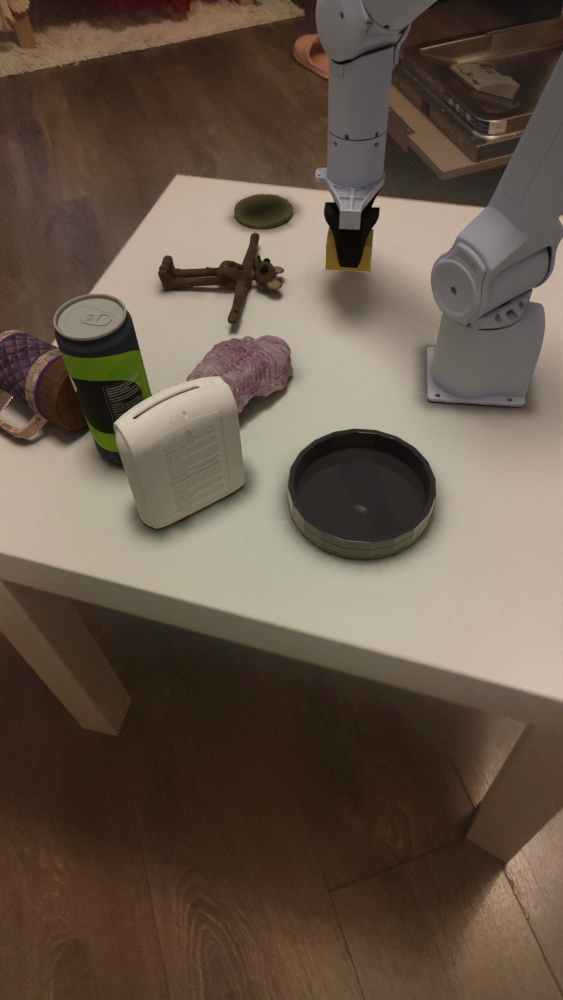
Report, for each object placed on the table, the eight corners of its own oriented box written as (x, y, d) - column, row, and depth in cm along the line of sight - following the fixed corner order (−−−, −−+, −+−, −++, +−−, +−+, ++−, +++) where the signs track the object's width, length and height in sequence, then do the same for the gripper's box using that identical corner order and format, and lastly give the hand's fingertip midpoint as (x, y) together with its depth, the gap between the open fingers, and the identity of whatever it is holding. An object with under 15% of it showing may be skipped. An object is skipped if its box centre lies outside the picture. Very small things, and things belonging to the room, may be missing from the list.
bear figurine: (176, 220, 83) (289, 213, 80) (184, 251, 86) (293, 245, 84) (140, 306, 72) (269, 301, 70) (151, 338, 76) (275, 334, 73)
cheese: (371, 255, 75) (373, 228, 73) (370, 272, 73) (372, 246, 71) (327, 253, 76) (328, 227, 73) (325, 270, 74) (326, 244, 71)
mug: (122, 380, 66) (43, 342, 71) (79, 348, 59) (-5, 308, 64) (70, 469, 65) (-5, 424, 70) (21, 446, 59) (-59, 398, 64)
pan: (430, 452, 62) (434, 433, 60) (432, 566, 54) (437, 548, 52) (297, 443, 63) (297, 424, 61) (281, 552, 56) (279, 535, 54)
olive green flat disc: (283, 227, 85) (283, 232, 86) (300, 197, 90) (300, 203, 91) (225, 219, 87) (226, 224, 88) (245, 190, 92) (246, 195, 92)
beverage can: (170, 424, 65) (139, 294, 53) (151, 472, 61) (113, 343, 49) (111, 417, 66) (67, 288, 54) (88, 464, 62) (36, 336, 50)
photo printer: (229, 456, 62) (214, 354, 53) (253, 485, 60) (242, 383, 50) (131, 506, 59) (96, 406, 49) (152, 538, 57) (120, 441, 47)
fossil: (166, 415, 66) (156, 375, 62) (252, 340, 73) (248, 300, 69) (229, 448, 63) (222, 408, 59) (313, 367, 70) (312, 326, 66)
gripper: (322, 95, 68) (320, 219, 79) (308, 162, 59) (308, 292, 70) (391, 96, 67) (379, 221, 78) (387, 164, 59) (375, 295, 69)
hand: (350, 255), depth 74 cm, fingers closed on cheese, 3 cm apart
